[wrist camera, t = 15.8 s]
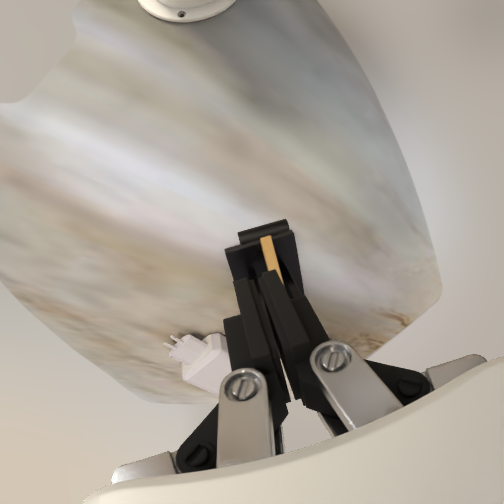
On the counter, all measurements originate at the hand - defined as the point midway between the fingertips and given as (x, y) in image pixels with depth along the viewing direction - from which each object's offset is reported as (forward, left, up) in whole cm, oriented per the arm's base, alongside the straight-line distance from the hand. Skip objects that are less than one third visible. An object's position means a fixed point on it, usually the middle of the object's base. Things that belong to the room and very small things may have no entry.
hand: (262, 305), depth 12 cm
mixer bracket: (+14, +8, -25) cm, 30 cm away
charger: (+28, 0, -25) cm, 38 cm away
